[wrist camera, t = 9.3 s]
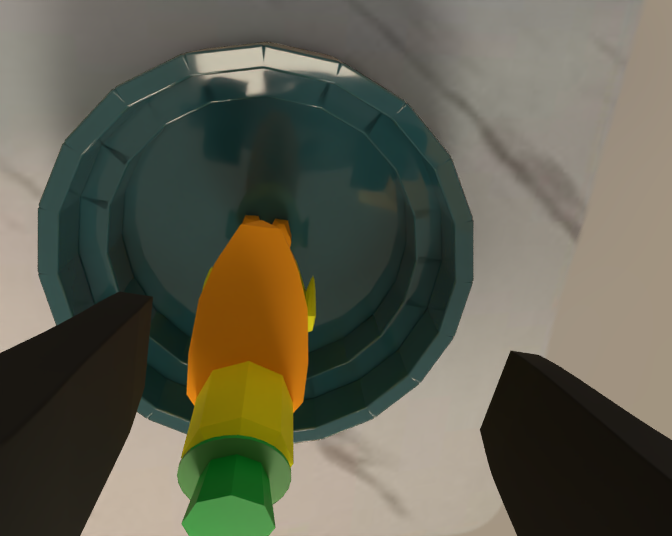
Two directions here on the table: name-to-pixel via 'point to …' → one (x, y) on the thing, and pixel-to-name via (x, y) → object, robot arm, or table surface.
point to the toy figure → (245, 382)
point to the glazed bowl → (265, 219)
